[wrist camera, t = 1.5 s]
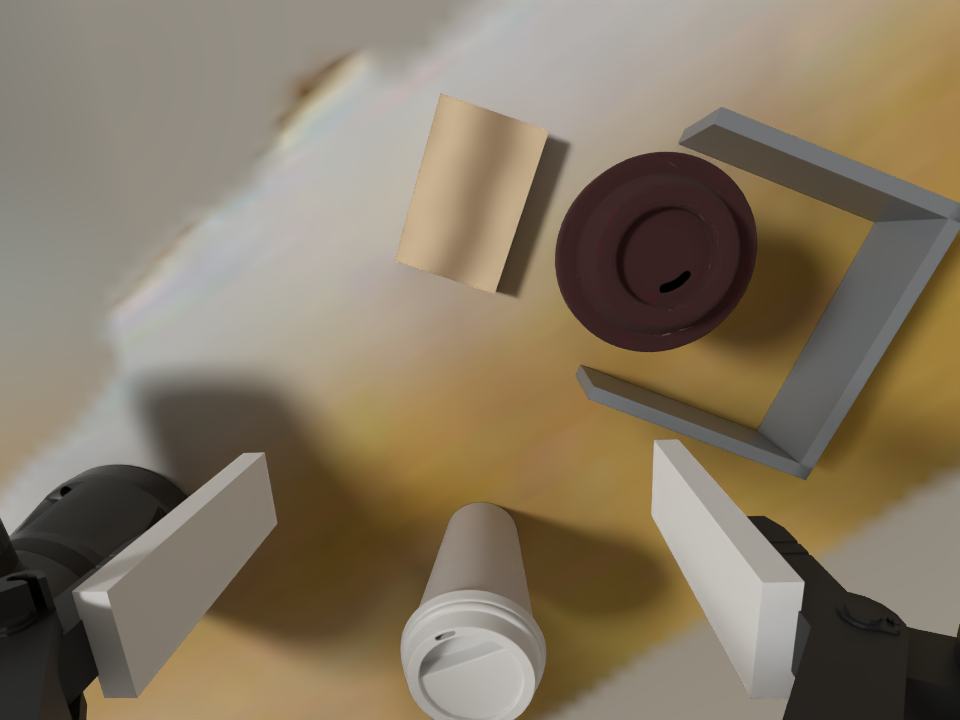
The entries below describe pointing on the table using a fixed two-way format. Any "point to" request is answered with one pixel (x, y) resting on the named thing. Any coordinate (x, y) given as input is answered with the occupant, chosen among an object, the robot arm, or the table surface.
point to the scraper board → (470, 193)
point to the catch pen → (850, 314)
